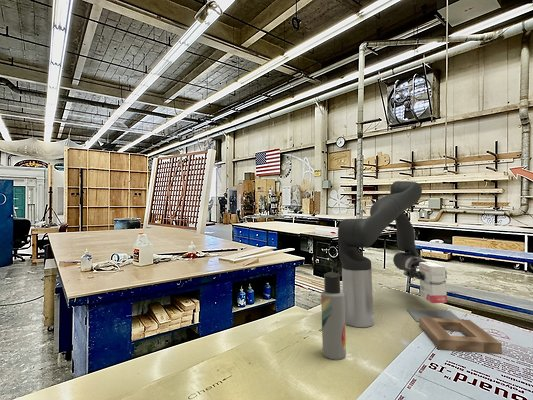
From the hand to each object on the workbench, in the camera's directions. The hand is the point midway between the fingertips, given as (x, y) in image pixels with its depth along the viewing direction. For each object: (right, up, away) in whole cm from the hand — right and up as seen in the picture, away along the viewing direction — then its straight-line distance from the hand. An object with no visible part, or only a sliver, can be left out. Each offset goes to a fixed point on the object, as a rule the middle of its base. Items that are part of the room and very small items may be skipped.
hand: (432, 277), depth 96 cm
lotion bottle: (-39, -13, -24) cm, 47 cm away
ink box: (+1, -8, +1) cm, 8 cm away
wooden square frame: (-3, -12, -16) cm, 21 cm away
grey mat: (0, -13, 0) cm, 13 cm away
